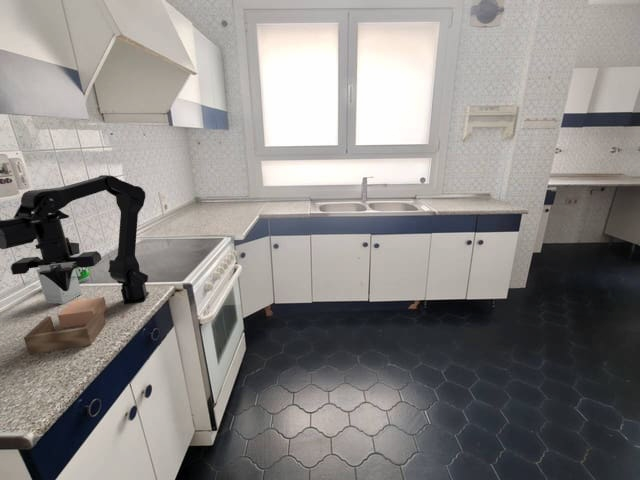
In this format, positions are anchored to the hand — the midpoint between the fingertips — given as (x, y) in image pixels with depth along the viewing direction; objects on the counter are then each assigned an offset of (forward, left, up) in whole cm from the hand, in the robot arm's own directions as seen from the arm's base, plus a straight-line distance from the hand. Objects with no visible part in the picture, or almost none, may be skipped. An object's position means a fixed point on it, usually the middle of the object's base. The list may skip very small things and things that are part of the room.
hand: (66, 290), depth 87 cm
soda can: (+15, -40, -13) cm, 44 cm away
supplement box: (+13, -24, -13) cm, 30 cm away
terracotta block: (+1, -7, -13) cm, 15 cm away
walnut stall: (0, +5, -13) cm, 13 cm away
